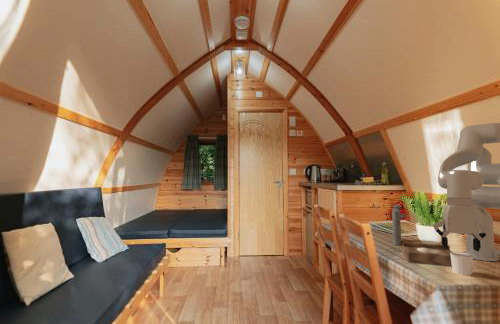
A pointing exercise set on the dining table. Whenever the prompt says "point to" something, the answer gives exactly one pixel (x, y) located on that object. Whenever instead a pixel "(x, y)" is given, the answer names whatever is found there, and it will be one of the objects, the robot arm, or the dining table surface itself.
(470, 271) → the white cup
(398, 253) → the dining table surface
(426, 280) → the dining table surface
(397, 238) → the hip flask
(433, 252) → the rack
